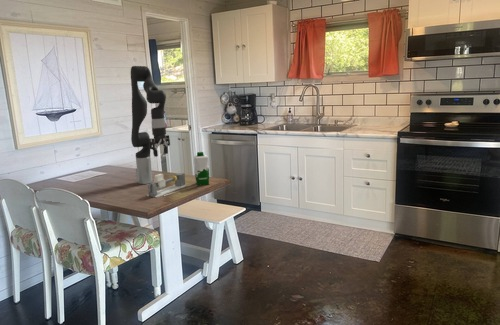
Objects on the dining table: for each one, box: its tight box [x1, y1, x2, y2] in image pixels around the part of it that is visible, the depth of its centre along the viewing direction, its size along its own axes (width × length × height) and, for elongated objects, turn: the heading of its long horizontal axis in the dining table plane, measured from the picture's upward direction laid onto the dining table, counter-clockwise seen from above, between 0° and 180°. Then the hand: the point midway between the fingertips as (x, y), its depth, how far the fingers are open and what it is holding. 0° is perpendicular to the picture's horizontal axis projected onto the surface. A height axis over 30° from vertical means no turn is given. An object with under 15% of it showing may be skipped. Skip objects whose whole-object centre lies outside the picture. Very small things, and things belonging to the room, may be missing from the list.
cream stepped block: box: [152, 173, 167, 190], centre depth 229 cm, size 5×5×8 cm
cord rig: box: [146, 172, 187, 198], centre depth 235 cm, size 27×8×8 cm, turn 150°
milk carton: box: [193, 151, 210, 186], centre depth 247 cm, size 9×9×20 cm
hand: (161, 155), depth 222 cm, fingers open, 8 cm apart
